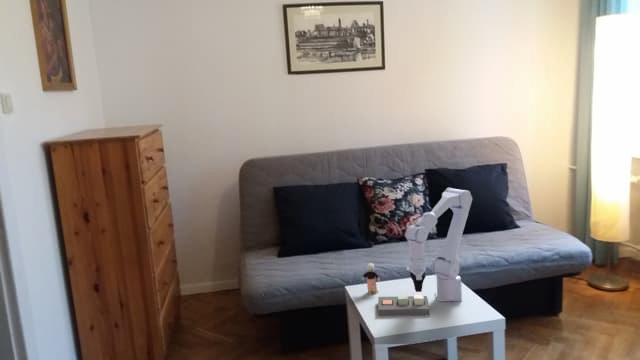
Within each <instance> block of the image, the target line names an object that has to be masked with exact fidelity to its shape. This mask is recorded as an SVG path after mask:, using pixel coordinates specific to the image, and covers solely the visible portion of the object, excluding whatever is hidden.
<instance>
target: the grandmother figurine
mask: <svg viewBox="0 0 640 360" xmlns="http://www.w3.org/2000/svg"><path fill="white" fill-rule="evenodd" d="M366 270H367V272H364V273H363V275H362V277H361V280H362V281H365V279H366V278H367V279H366V280H367V281H366V282H367V283H366V286H367V293H368V294H375V295H376V294H378V293H379V290H378V286H377V282H381V279H380V276H379V275H378V273H377V272H375V271H374V270H375V264H374V263H370V262H369V263H368V264H367V265H366Z"/></svg>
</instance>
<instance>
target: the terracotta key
mask: <svg viewBox="0 0 640 360" xmlns="http://www.w3.org/2000/svg"><path fill="white" fill-rule="evenodd" d="M383 305H392V300H383Z"/></svg>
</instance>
